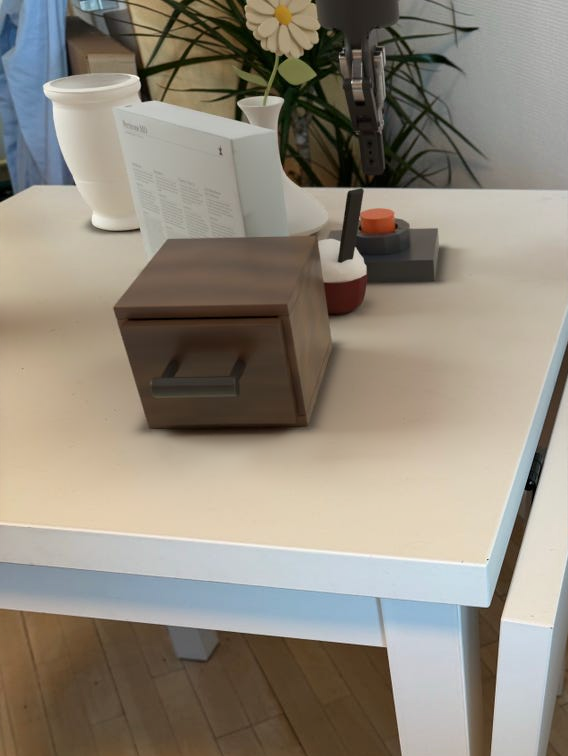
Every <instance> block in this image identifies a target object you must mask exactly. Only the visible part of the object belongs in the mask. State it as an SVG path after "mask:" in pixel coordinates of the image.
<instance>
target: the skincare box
mask: <svg viewBox="0 0 568 756" xmlns="http://www.w3.org/2000/svg"><path fill="white" fill-rule="evenodd" d="M141 102H142V101H141ZM112 110H113V114H114V117H115V122H116V126H117V130H118V135H119V139H120V143H121V148H122V152H123V156H124V160H125V164H126V169H127V174H128V179H129V183H130V188H131V192H132V197H133V201H134V206H135V211H136V213H137V216H138V221H139V225H140V228H139V229H140V235H141V239H142V244H143V249H144V253H145V257H146V261H147V264H148V263H149V262H150V260H151V259H152V258H153V257H154V255H155V254H156V253H157V252H158V250H159V249H160V248H161V247H162V245H163V244H164V243H165V242H166V240H167V239H185V238H233V237H282V236H289V229H288V221H287V213H286V206H285V198H284V191H283V183H282V176H281V168H280V161H281V160H280V161H279V155H280V152H279V153H278V148H279V145H278V146H277V138H276V131H275V130H271V129H266V128H262V127H259V126H255V125H251V124H250V123H248V122H244V121H240V120H236V119H232V118H227V117H223V116H220V115H215V114H212V113H208V112H203V111H199V110H196V109H191V108H188V107H184V106H180V105H175V104H171V103H168V102H164V101H160V100H149V101H143V102H142V103H135V104H129V105H122V106H116V107H112Z"/></svg>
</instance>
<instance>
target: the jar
mask: <svg viewBox="0 0 568 756" xmlns="http://www.w3.org/2000/svg"><path fill="white" fill-rule="evenodd" d="M140 78H141V77H139V76H138V75H135V74H129V73H118V72H96V73H94V72H93V73H84V74H83V73H82V74H75V75H70V76H69V75H68V76H64V77H60V78H56V79H53V80H50V81H47V82H46V83H44V84H43V85H42V89H43V94H44V95H45V97H46V98H47V99H49V100H51V103H52V117H53V124H54V131H55V134H56V138H57V141H58V145H59V149H60V151H61V154H62V157H63V160H64V161H65V164H66V166H67V168H68V170H69V173H70V174H71V175H72V178H73V181H74V183H75V186H76V188H77V190H78V192H79V194H80V195H81V197H82V199H83V200H84V202H85V203H86V204H87V205H88V207H89V208H90V209H91V210H92V214H91V224H92V225H93V226H94V227H95V228H98V229H100V230H103V231H104V230H105V231H113V232H115V231H116V232H117V231H132V230H137V229H140V225H139V221H138V216H137V213H136V211H135V206H134V201H133V197H132V192H131V188H130V183H129V179H128V174H127V169H126V164H125V160H124V156H123V152H122V148H121V143H120V139H119V135H118V130H117V126H116V122H115V117H114V114H113V110H112V107H116V106H122V105H129V104H135V103H142V100H141V98H140V97H139V92H140V90H141V87H142V84H141V81H140Z"/></svg>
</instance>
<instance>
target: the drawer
mask: <svg viewBox="0 0 568 756" xmlns="http://www.w3.org/2000/svg"><path fill="white" fill-rule="evenodd" d="M142 319H143V320H139V321H124V322H123V323H122V324H121V325H120V327H119V326H118V330H119V329H120V330H119V333H120V332H121V333H120V336H121V335H122V336H121V340H122V339H123V340H122V343H123V342H124V343H123V346H124V345H125V346H124V350H125V349H126V350H125V353H126V352H127V353H126V356H127V355H128V356H127V359H129V360H128V363H129V362H130V363H129V366H130V365H131V366H130V369H132V370H131V373H132V372H133V373H132V377H133V380H134V379H135V380H134V383H135V382H136V383H135V386H137V387H136V390H137V389H138V390H137V393H138V392H139V393H138V397H139V396H140V397H139V400H140V399H141V400H140V403H141V402H142V403H141V406H143V407H142V410H143V409H144V410H143V413H144V412H145V413H144V416H146V417H145V420H146V419H147V420H146V423H147V422H148V424H147V426H148V425H149V426H150V425H215V424H279V423H296V421H297V418H298V412H297V406H296V401H295V395H294V389H293V383H292V378H291V372H290V366H289V360H288V355H287V349H286V343H285V337H284V332H283V326H282V320H281V318H278V316H249V317H195V318H142Z"/></svg>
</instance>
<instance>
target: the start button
mask: <svg viewBox="0 0 568 756" xmlns="http://www.w3.org/2000/svg"><path fill="white" fill-rule="evenodd" d="M395 218H396V217H395V212H394V210H392V209H390V208H384V207H383V208H382V207H381V208H380V207H379V208H369V209H367V210H365V209H364V210H363V211H361V212H360V218H359V220H360V222H361V231H362V232H364V233H369V234H381V233H386V232H391V231H393V230H395Z"/></svg>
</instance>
